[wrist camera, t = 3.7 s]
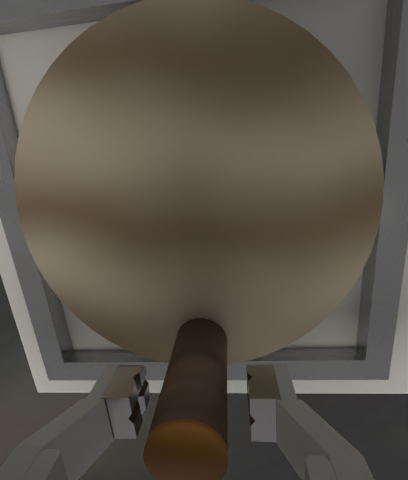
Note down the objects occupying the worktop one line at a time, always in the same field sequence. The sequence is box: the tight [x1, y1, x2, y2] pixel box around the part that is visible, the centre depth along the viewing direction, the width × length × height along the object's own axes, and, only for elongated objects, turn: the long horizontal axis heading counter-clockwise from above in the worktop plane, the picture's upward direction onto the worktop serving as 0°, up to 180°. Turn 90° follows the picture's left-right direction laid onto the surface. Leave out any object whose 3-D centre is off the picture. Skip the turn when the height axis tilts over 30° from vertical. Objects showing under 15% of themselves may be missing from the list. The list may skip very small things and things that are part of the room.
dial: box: [14, 0, 384, 480], centre depth 9 cm, size 15×15×7 cm
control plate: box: [0, 0, 408, 394], centre depth 13 cm, size 22×22×4 cm
